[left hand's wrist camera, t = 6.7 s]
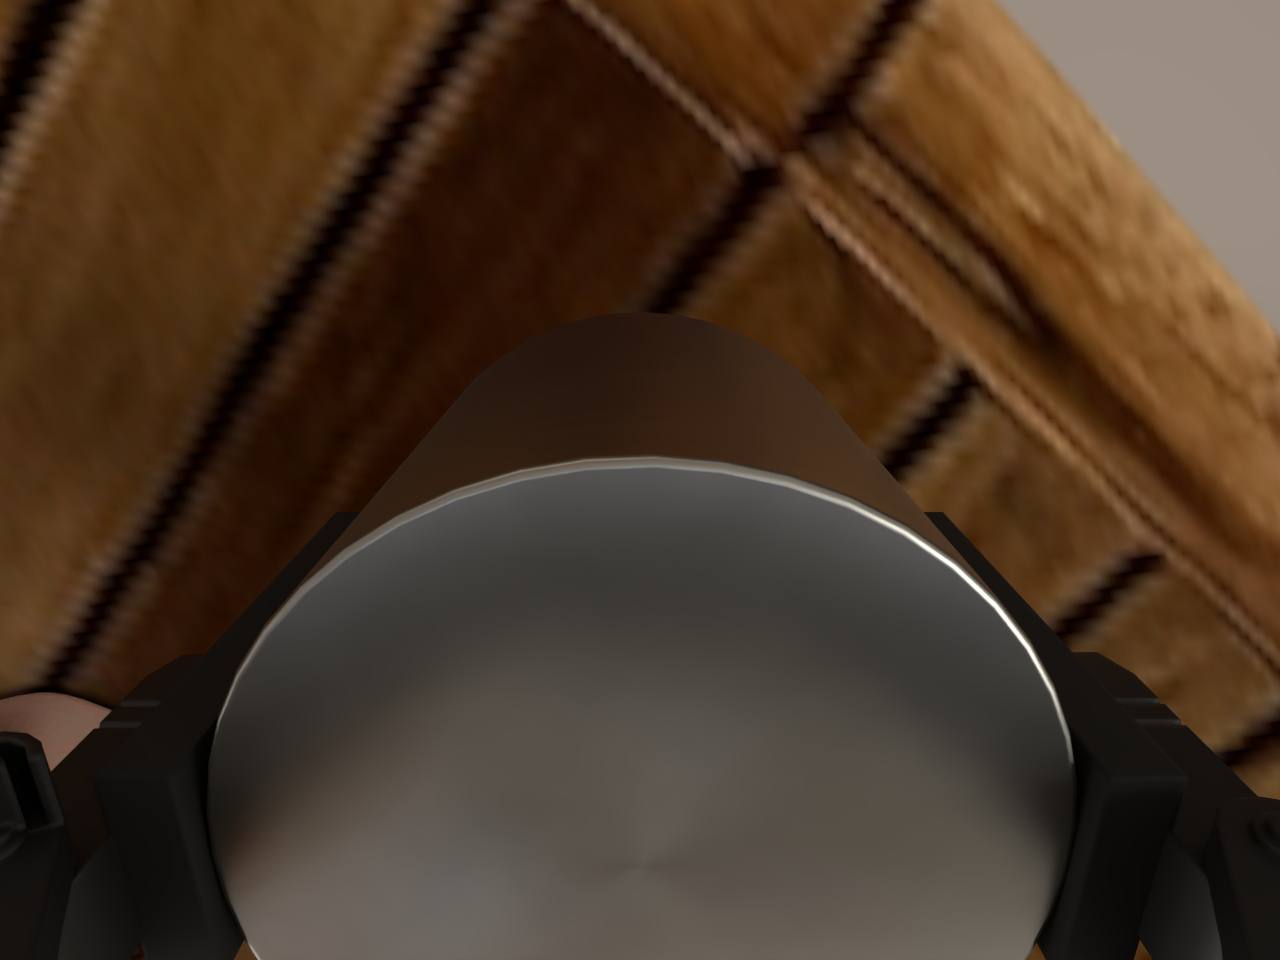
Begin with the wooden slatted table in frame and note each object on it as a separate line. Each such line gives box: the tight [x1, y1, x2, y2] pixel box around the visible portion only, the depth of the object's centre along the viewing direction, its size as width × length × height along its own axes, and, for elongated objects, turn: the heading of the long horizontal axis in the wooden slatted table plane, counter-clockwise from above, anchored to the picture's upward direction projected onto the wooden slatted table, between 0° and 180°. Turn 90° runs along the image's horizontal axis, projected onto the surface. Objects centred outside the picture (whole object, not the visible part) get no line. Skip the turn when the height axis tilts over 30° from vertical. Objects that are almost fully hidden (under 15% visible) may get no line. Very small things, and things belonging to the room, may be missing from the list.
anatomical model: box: [0, 692, 112, 771], centre depth 27 cm, size 13×4×12 cm
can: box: [206, 312, 1077, 960], centre depth 12 cm, size 9×9×8 cm
